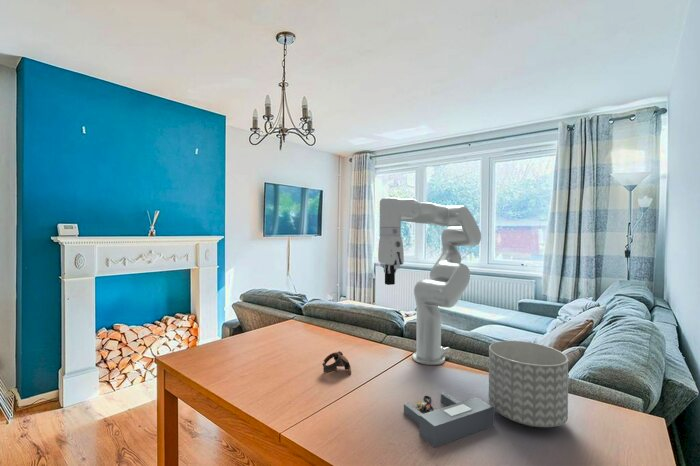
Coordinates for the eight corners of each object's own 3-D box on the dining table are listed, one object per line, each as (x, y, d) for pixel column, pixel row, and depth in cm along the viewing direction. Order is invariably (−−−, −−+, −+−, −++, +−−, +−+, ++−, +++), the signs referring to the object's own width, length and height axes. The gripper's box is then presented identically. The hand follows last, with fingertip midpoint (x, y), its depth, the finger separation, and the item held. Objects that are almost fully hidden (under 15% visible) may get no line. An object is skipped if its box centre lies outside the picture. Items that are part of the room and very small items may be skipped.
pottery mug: (353, 380, 115) (342, 361, 113) (329, 390, 116) (317, 372, 115) (353, 358, 127) (343, 341, 125) (331, 368, 128) (321, 351, 126)
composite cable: (424, 397, 103) (424, 389, 103) (439, 401, 101) (440, 393, 101) (414, 413, 94) (414, 404, 94) (431, 417, 92) (431, 408, 92)
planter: (537, 448, 78) (538, 371, 78) (473, 409, 95) (474, 346, 95) (583, 427, 87) (583, 357, 87) (517, 395, 104) (517, 337, 104)
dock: (450, 399, 101) (451, 381, 101) (493, 425, 88) (493, 405, 88) (396, 415, 92) (396, 396, 92) (434, 447, 79) (434, 425, 79)
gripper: (411, 232, 114) (411, 286, 114) (387, 232, 127) (387, 280, 127) (393, 232, 110) (392, 288, 110) (370, 232, 124) (369, 282, 124)
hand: (389, 284), depth 119 cm, fingers closed
